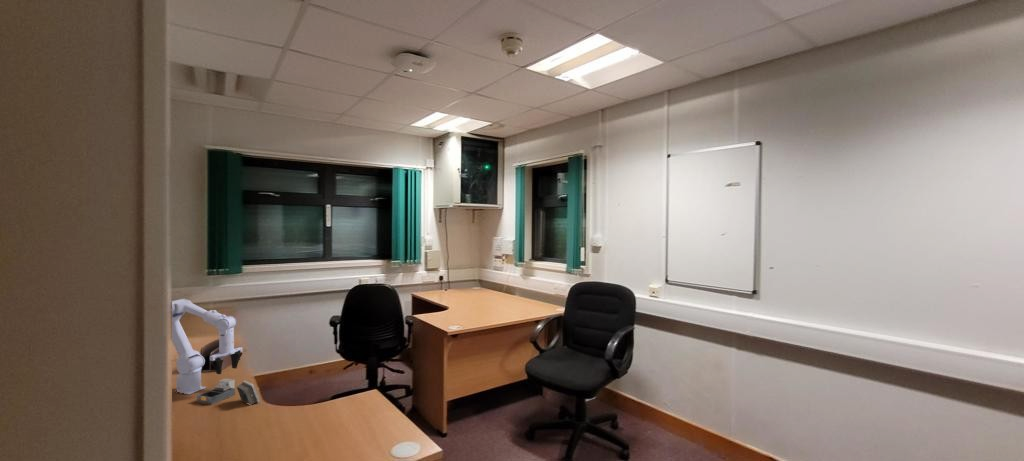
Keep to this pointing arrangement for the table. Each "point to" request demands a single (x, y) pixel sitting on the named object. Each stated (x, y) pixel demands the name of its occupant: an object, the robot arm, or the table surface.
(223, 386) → the rack
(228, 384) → the grey block
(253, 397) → the electrical switch
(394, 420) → the table surface
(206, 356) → the letter holder
